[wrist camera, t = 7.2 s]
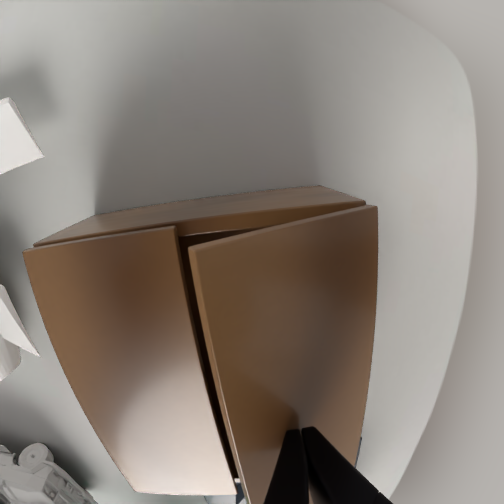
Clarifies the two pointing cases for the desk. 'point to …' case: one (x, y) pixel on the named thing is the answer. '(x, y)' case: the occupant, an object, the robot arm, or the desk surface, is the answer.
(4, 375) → the airplane model
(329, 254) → the flap
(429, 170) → the desk surface
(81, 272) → the carton
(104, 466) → the desk surface
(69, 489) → the toy car
